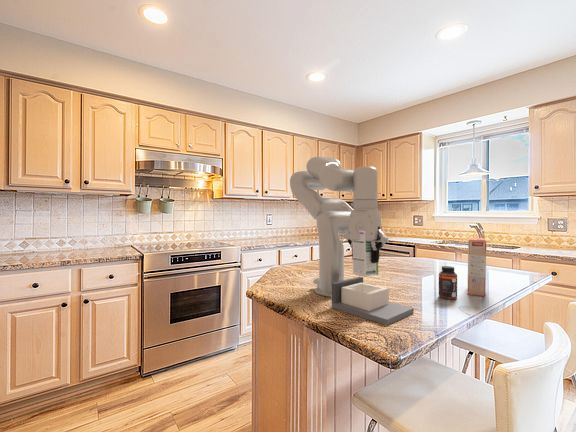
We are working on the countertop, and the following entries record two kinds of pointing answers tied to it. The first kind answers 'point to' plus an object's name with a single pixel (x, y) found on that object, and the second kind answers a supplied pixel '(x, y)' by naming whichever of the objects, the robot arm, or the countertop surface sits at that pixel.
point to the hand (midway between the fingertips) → (365, 260)
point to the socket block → (365, 296)
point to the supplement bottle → (448, 283)
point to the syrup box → (363, 257)
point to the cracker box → (477, 266)
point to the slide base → (380, 315)
